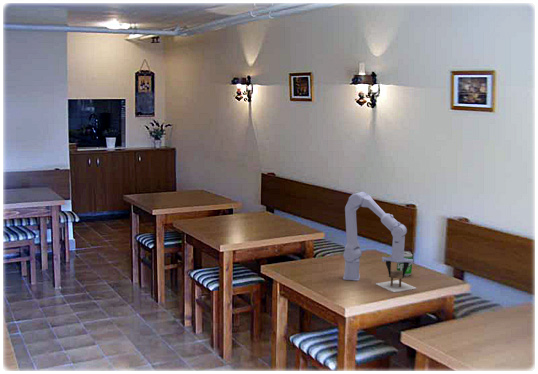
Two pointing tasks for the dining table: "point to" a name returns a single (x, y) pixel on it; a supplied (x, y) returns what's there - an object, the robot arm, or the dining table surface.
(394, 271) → the stool
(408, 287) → the mat
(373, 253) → the dining table surface
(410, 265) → the soda can
